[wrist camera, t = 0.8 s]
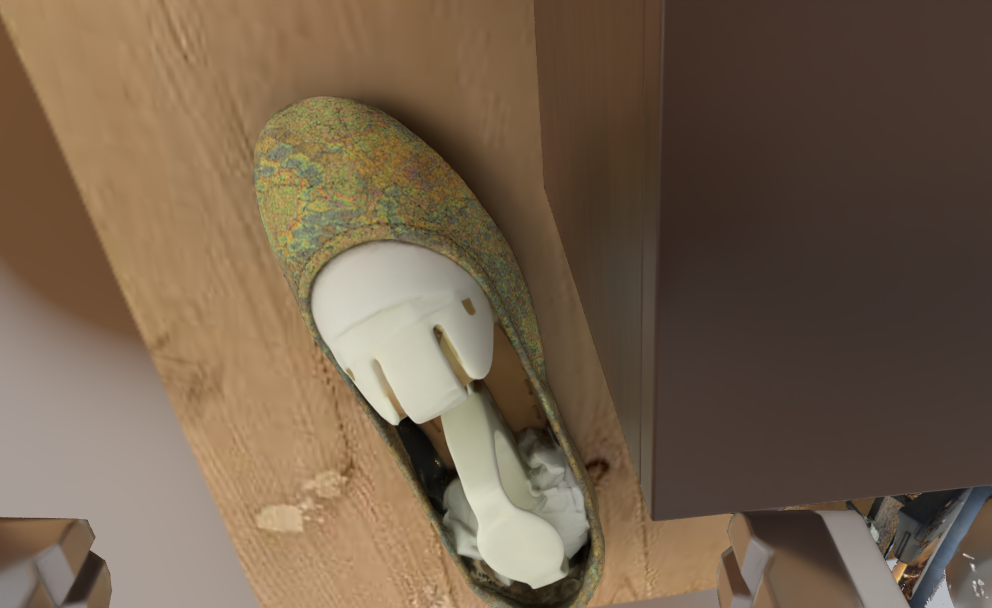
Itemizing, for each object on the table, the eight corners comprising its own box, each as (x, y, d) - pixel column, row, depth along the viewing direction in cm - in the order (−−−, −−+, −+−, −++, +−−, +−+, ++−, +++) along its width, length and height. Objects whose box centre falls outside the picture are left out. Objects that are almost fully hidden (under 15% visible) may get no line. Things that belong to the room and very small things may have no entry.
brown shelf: (528, -95, 26) (661, -28, 10) (818, -123, 26) (1379, -99, 11) (544, 188, 31) (651, 523, 15) (788, 164, 31) (1141, 470, 16)
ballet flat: (421, 37, 28) (415, 96, 21) (632, 500, 39) (673, 637, 33) (215, 131, 29) (145, 217, 22) (478, 555, 41) (486, 697, 34)
